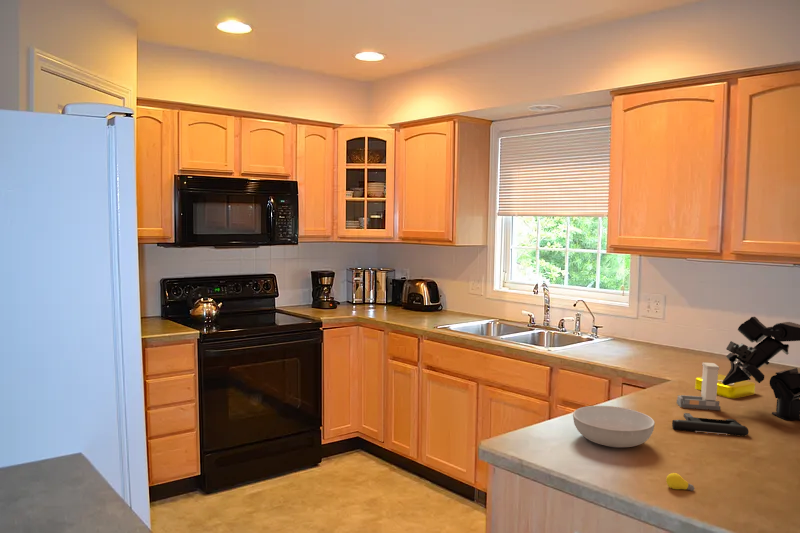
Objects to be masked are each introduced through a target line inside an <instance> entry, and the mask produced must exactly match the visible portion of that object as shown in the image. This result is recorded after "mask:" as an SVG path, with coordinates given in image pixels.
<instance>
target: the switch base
mask: <svg viewBox="0 0 800 533" xmlns="http://www.w3.org/2000/svg"><path fill="white" fill-rule="evenodd" d="M676 404H677V405H678V406H679V407H680V408H681V407H683V409H695V408H696V409H699V410H708V409H709V410H710V411H721V406H720V401H718V400H715V401H710V400H702V396H701V395H700V396H698V395H685V394H684V395H683V394H681V395H677V399H676ZM709 410H708V411H709Z"/></svg>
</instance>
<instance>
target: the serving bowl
mask: <svg viewBox="0 0 800 533" xmlns="http://www.w3.org/2000/svg"><path fill="white" fill-rule="evenodd" d="M572 417H573V423H574V426H575V428H576V430H577V431H578V432H579V434H580V435H581V436H583V437H584V438H585V439H587V440H589V441H591V442H592V443H595V444H598V445H602V446H605V447H610V448H630V447H631V448H632V447H636V446H639V445H642V444H644V443H645V442H647V441H648V440H649V439H650V438H651V437H652V436H653V435H652V434H653V433H654V430H655V424H656V423H655V420H654V419H653V418H652V417H651V416H649V415H648V414H646V413H643V412H640V411H637V410H635V409H630V408H625V407H621V406H613V405H589V406H583V407H582V406H581V407H579V408H576V409H575V410H574V411H573V413H572Z"/></svg>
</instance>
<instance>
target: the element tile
mask: <svg viewBox="0 0 800 533" xmlns="http://www.w3.org/2000/svg"><path fill="white" fill-rule="evenodd" d="M726 376H727V375H724V374H720V373H718V381H717V396H720V397H723V398H728V399H739V398H743V397H748V396H753V395H755V394H756V383H755V382H754V381H750V380H745V381H741V382H736V383H732V384H728V385H724V384H723V383H722V382H723V380H724V379H725V377H726ZM694 380H695V382H694V389H695V390H698V391H701V388H702V376H697V377H695V379H694Z"/></svg>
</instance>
